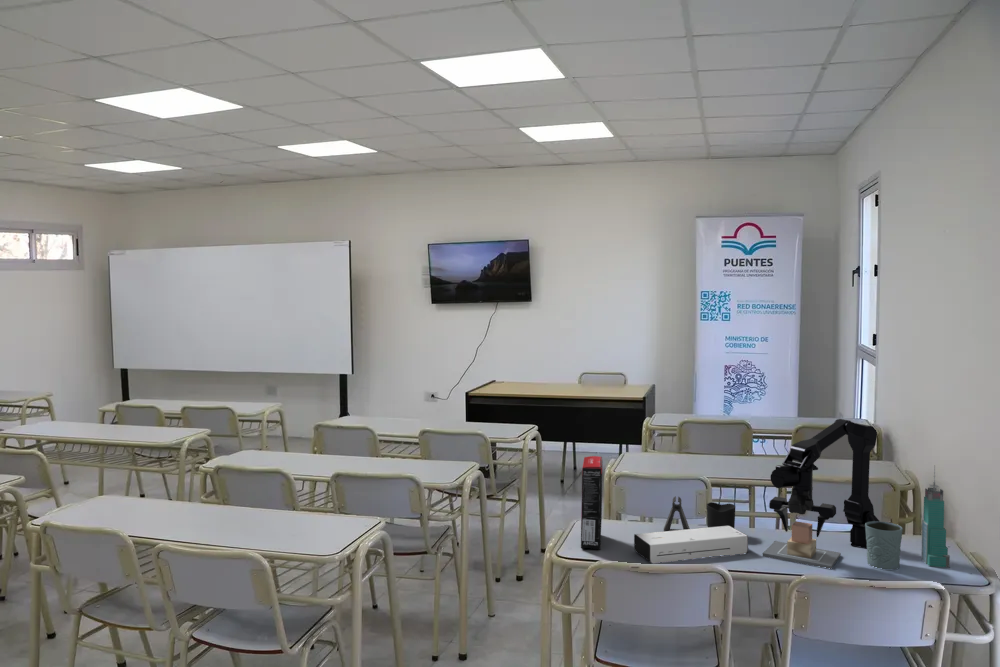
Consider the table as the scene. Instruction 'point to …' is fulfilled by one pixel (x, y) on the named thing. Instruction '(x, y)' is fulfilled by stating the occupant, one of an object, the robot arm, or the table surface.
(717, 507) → the pen holder
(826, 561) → the grey flat plate
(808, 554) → the oak base block
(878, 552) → the green embossed cup
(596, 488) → the graphics card box
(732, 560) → the table surface
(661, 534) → the laminator
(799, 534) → the terracotta block
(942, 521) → the building
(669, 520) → the pliers
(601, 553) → the table surface
